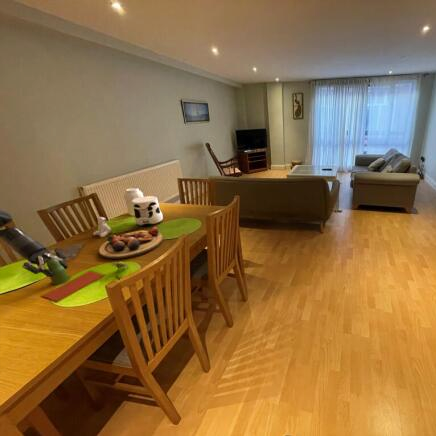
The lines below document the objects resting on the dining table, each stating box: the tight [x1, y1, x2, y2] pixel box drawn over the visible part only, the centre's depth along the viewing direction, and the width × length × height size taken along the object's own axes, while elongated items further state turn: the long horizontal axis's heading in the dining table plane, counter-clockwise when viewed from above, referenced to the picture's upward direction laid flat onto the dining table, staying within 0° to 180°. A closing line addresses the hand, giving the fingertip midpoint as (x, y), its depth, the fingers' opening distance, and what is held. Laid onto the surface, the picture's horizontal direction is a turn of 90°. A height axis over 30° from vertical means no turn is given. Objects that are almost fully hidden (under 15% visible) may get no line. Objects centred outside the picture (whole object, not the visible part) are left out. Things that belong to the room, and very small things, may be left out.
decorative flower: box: [110, 261, 130, 280], centre depth 115 cm, size 8×6×15 cm
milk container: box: [132, 195, 164, 227], centre depth 170 cm, size 17×17×18 cm
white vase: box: [123, 187, 144, 217], centre depth 187 cm, size 12×12×20 cm
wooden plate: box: [98, 226, 163, 260], centre depth 141 cm, size 32×32×8 cm
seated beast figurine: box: [92, 216, 112, 239], centre depth 154 cm, size 10×9×12 cm
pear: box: [46, 257, 70, 286], centre depth 109 cm, size 6×6×13 cm
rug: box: [59, 243, 84, 262], centre depth 134 cm, size 10×20×1 cm, turn 26°
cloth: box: [42, 270, 105, 303], centre depth 108 cm, size 19×10×1 cm, turn 160°
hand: (59, 271), depth 109 cm, fingers open, 5 cm apart
